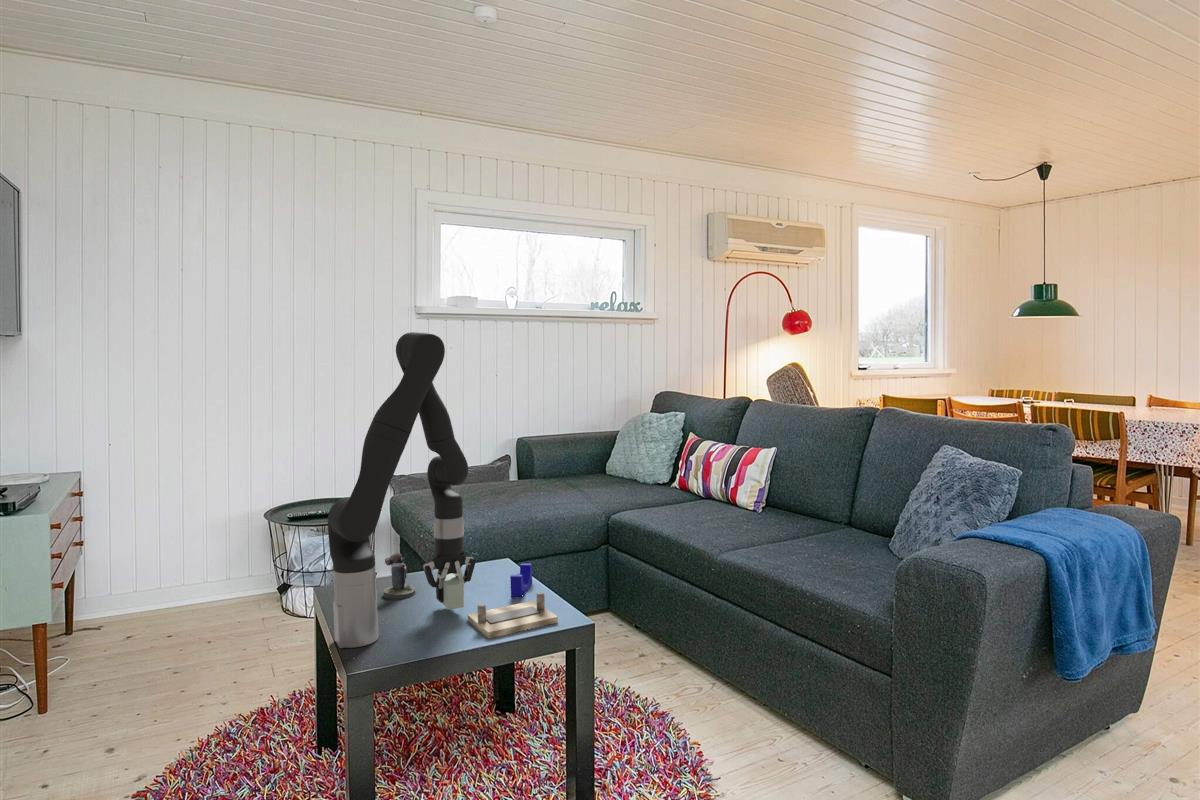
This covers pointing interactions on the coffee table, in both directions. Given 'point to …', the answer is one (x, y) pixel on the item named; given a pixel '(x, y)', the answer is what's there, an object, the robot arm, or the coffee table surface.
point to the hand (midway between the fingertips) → (450, 599)
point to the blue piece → (521, 580)
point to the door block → (453, 592)
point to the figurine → (398, 579)
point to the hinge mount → (512, 617)
